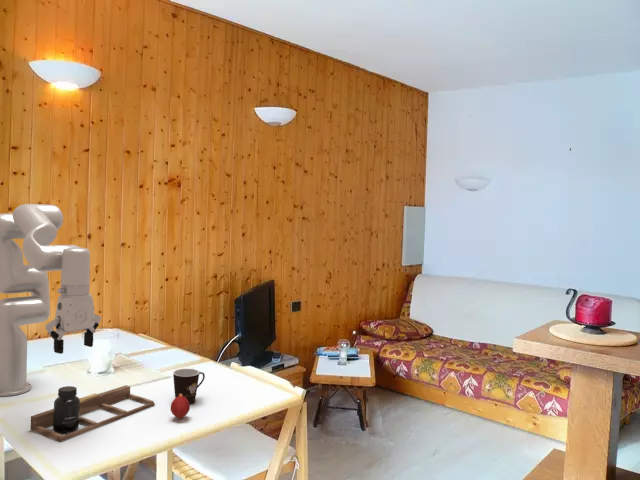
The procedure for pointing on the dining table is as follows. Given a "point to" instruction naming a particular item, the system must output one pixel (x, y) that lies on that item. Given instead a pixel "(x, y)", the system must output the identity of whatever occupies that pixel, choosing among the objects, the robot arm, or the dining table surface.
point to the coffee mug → (187, 383)
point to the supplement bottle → (66, 410)
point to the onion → (180, 406)
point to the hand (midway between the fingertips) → (73, 349)
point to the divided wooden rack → (89, 405)
